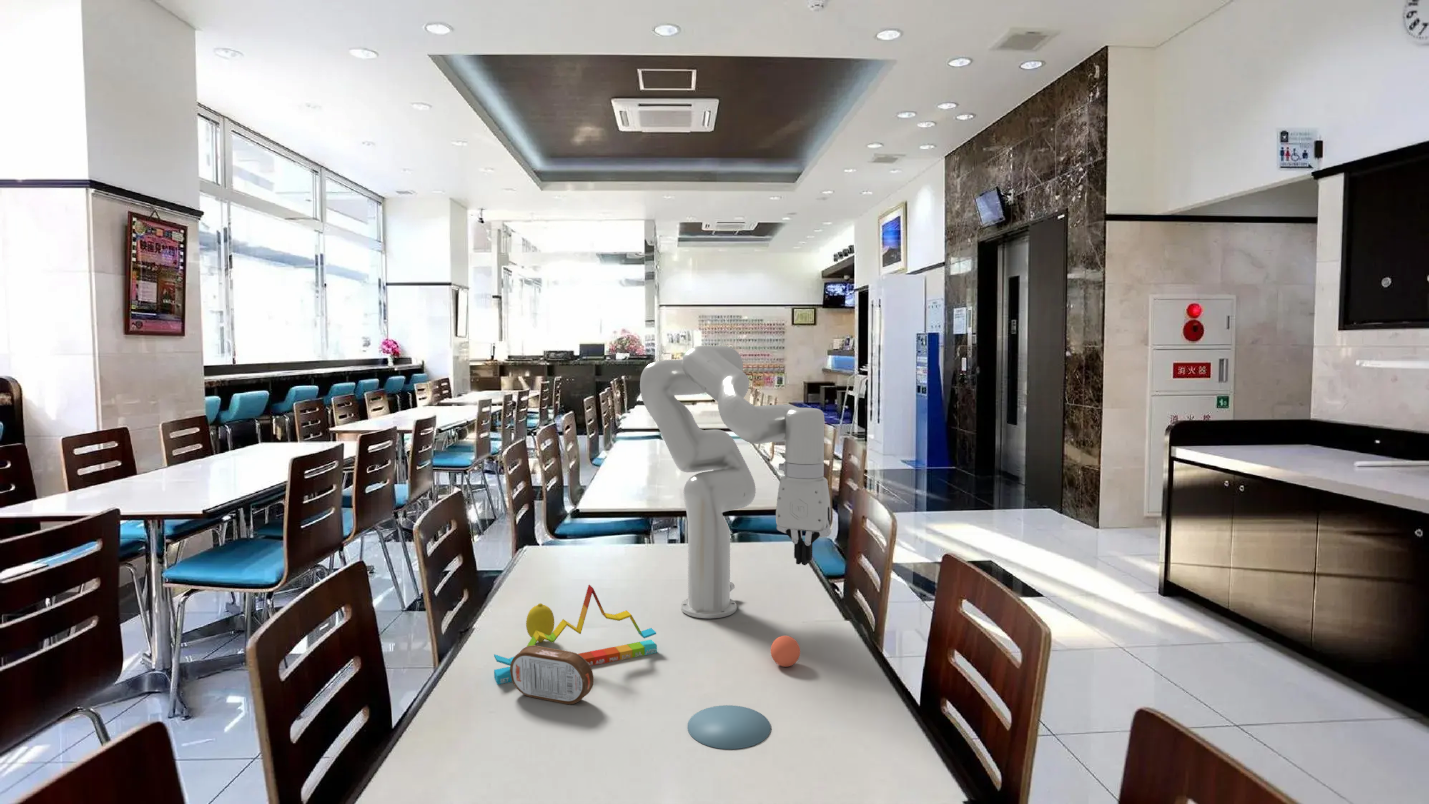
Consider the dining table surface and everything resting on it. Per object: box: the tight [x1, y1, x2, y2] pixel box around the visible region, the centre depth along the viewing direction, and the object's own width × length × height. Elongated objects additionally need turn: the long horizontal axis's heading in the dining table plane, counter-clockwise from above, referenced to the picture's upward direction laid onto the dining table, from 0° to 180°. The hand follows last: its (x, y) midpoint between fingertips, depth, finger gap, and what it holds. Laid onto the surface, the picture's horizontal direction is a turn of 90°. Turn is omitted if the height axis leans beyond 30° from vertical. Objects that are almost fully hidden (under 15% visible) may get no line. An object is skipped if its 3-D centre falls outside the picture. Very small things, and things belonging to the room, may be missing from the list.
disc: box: [687, 704, 771, 750], centre depth 115 cm, size 13×13×1 cm
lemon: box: [525, 602, 555, 643], centre depth 147 cm, size 6×6×8 cm
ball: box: [770, 635, 801, 668], centre depth 137 cm, size 6×6×6 cm
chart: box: [493, 584, 658, 686], centre depth 136 cm, size 30×3×15 cm, turn 117°
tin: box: [509, 644, 595, 705], centre depth 123 cm, size 15×3×8 cm, turn 71°
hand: (803, 562), depth 144 cm, fingers closed
